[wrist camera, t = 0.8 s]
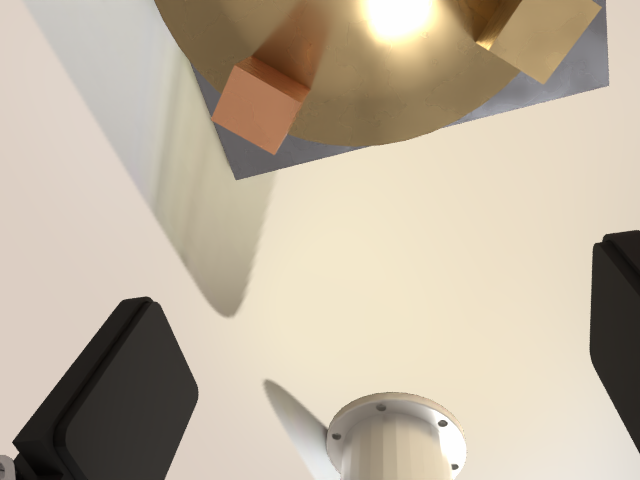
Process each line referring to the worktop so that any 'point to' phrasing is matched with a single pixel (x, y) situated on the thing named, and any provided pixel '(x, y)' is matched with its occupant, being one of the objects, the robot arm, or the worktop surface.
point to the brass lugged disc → (366, 61)
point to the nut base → (568, 79)
